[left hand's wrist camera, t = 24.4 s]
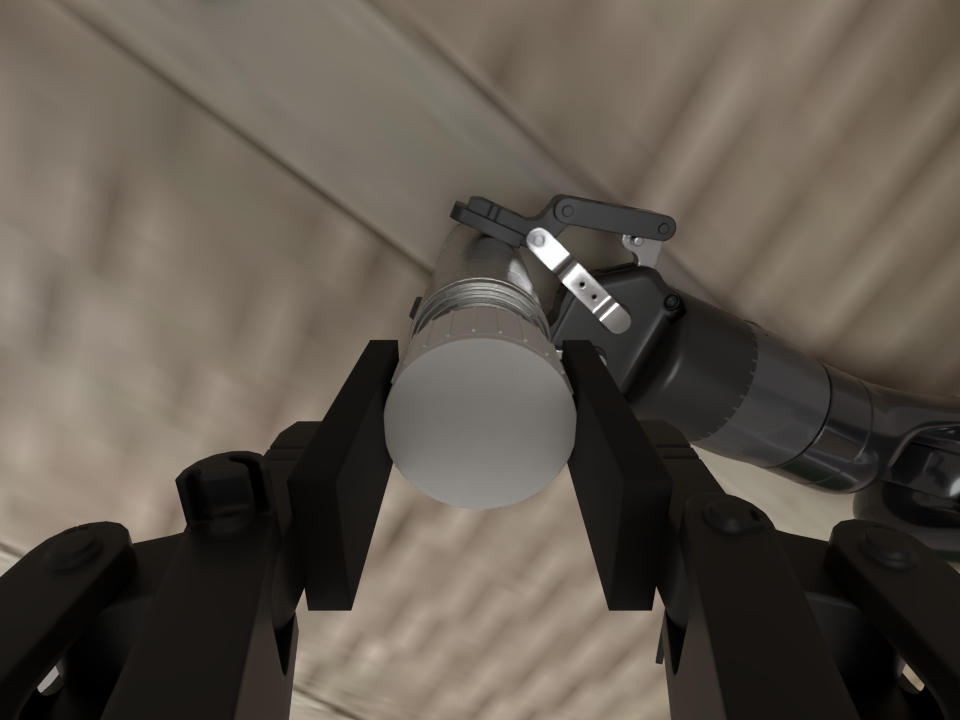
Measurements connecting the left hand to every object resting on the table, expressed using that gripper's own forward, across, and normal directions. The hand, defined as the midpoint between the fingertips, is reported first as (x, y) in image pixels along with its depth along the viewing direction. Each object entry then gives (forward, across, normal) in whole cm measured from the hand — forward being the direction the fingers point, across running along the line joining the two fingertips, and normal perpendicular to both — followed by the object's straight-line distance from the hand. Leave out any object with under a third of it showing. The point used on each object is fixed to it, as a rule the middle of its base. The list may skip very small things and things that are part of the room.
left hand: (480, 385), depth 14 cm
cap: (-2, 0, 0) cm, 2 cm away
